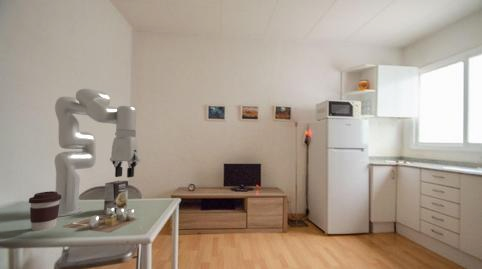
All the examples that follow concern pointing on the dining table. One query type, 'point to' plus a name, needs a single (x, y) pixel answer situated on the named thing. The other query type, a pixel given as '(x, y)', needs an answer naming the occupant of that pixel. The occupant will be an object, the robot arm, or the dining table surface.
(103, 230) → the board
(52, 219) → the coffee cup
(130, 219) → the spacer
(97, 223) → the spacer
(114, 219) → the nut
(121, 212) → the spacer
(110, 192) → the coffee box
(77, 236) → the dining table surface
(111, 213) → the spacer
